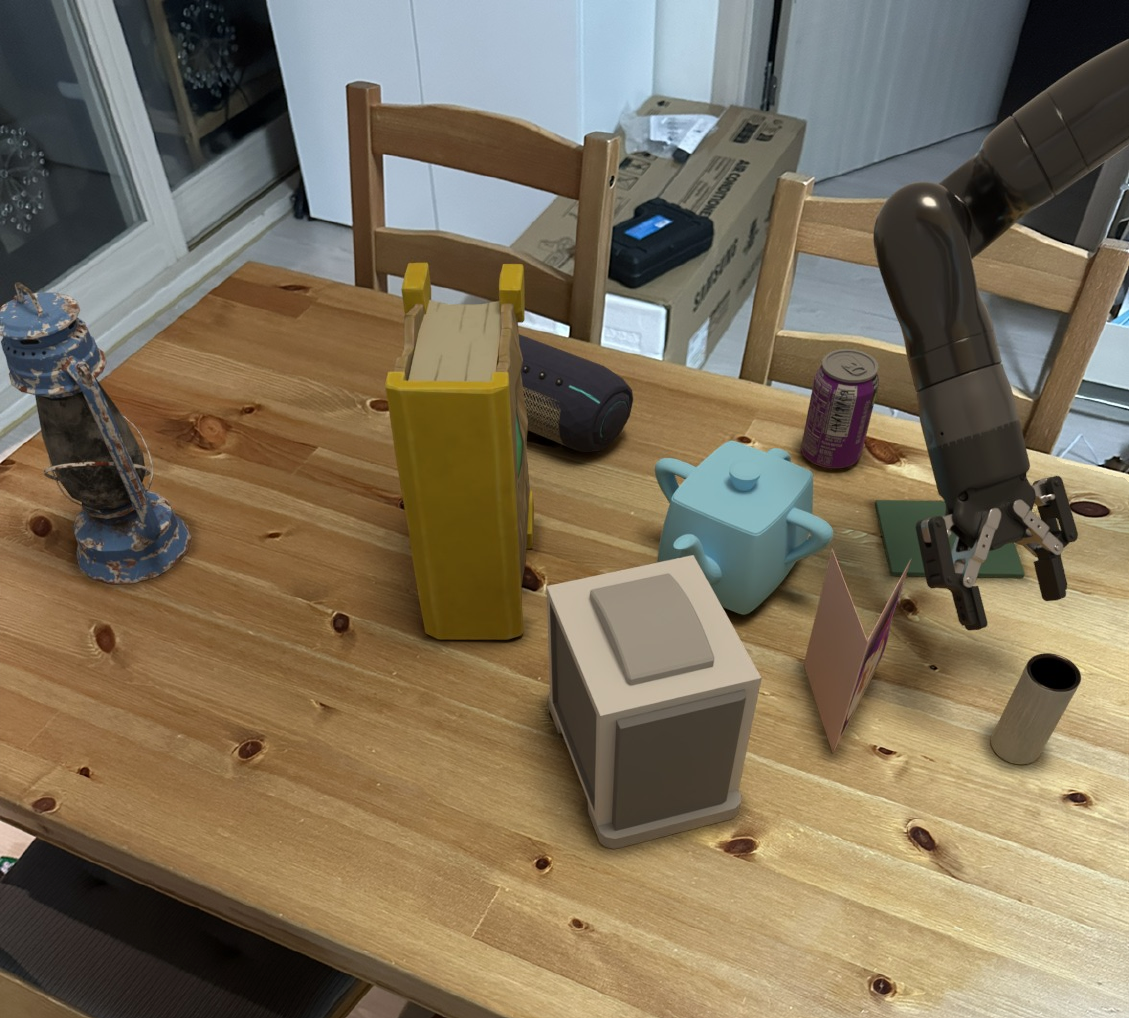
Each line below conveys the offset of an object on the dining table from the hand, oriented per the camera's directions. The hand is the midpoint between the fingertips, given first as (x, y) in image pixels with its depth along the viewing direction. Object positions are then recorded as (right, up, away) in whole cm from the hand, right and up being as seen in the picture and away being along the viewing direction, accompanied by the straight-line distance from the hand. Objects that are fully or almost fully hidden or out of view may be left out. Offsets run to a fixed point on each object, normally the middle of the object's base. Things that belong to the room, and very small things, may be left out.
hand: (1016, 614), depth 93 cm
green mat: (+3, +11, +24) cm, 27 cm away
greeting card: (-14, -7, +10) cm, 19 cm away
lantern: (-87, +11, +25) cm, 92 cm away
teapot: (-23, +6, +21) cm, 31 cm away
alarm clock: (-32, -13, +6) cm, 35 cm away
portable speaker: (-44, +29, +39) cm, 65 cm away
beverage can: (-8, +23, +34) cm, 42 cm away
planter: (+3, -12, +6) cm, 14 cm away
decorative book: (-49, +7, +22) cm, 54 cm away
